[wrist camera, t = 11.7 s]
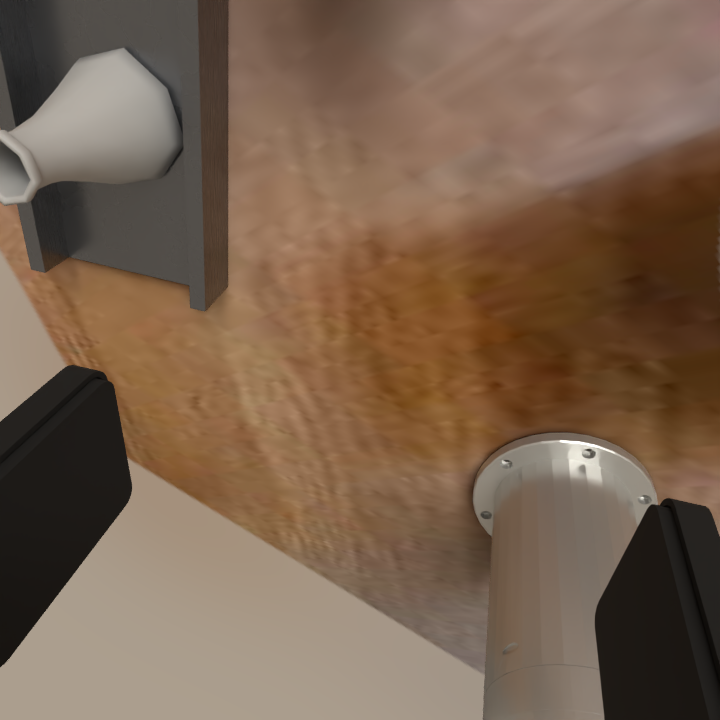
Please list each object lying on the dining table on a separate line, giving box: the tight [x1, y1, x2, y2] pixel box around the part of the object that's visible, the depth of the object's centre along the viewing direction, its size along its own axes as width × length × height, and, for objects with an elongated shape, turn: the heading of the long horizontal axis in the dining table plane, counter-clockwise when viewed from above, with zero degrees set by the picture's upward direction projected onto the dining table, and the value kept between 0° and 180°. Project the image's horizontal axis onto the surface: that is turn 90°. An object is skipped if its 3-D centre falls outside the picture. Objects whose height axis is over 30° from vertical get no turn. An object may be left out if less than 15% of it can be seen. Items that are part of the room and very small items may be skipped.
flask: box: [0, 48, 183, 206], centre depth 30 cm, size 7×7×10 cm
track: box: [0, 0, 228, 311], centre depth 33 cm, size 20×12×4 cm, turn 172°
